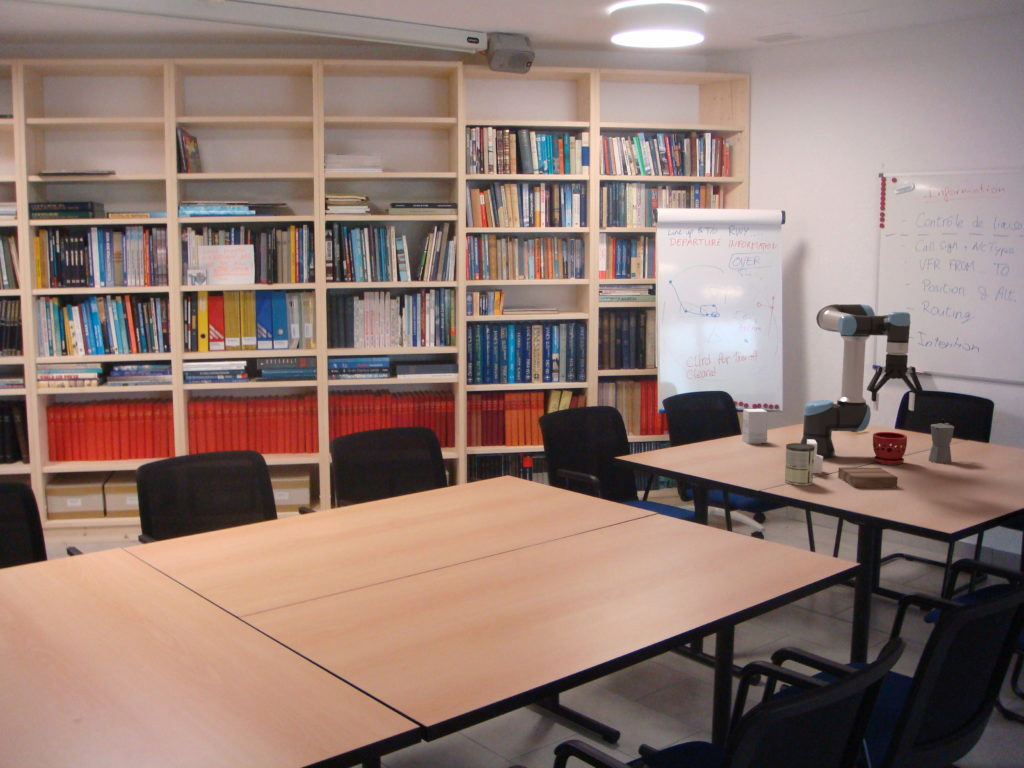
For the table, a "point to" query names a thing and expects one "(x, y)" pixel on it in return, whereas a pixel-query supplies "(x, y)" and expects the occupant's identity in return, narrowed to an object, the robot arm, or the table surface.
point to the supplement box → (755, 426)
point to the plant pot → (889, 447)
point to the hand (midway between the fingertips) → (893, 410)
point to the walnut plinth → (867, 477)
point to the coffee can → (799, 464)
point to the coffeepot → (941, 442)
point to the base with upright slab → (816, 457)
